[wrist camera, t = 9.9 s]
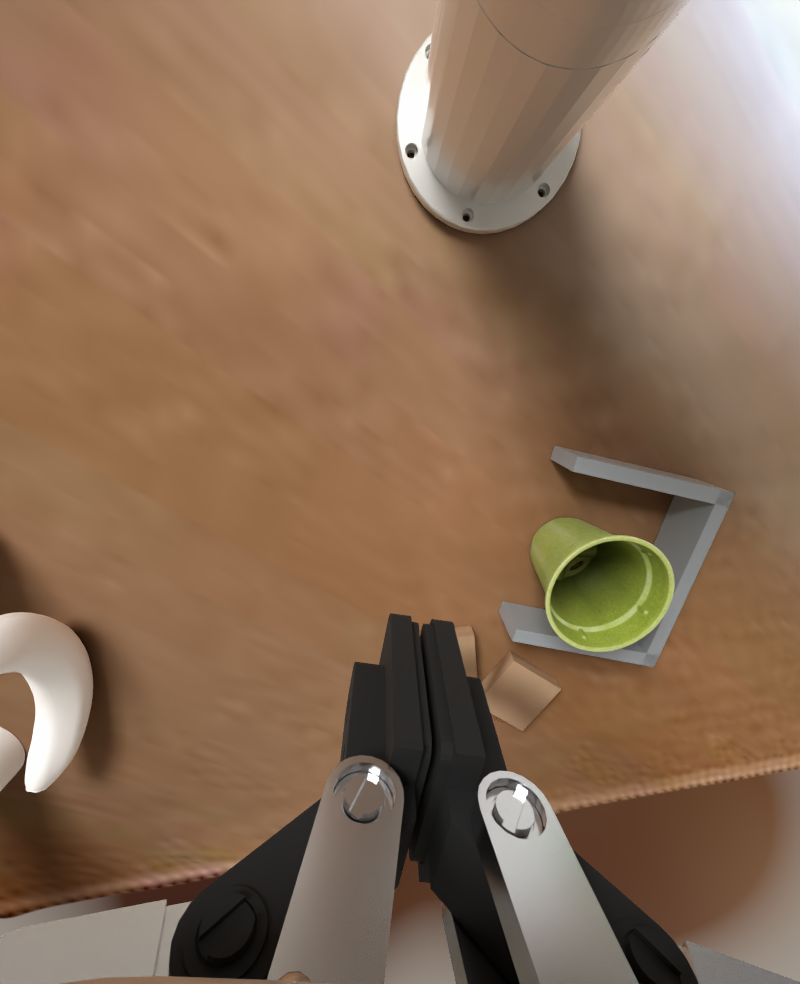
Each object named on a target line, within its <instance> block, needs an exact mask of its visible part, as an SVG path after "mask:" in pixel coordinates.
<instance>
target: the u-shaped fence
mask: <svg viewBox="0 0 800 984" xmlns="http://www.w3.org/2000/svg"><path fill="white" fill-rule="evenodd" d="M550 459H551V460H553V461H555V462H556V463H558V464H560V465H562V466H564V467H565V468H567V469H569V470H571V471H572V472H577V473H581V474H585V475H590V476H594V477H598V478H603V479H607V480H612V481H616V482H620V483H625V484H629V485H633V486H638V487H642V488H646V489H651V490H655V491H659V492H664V493H668V494H673V495H674V497H673V500H672V502H671V504H670V507H669V509H668V511H667V514H666V516H665V518H664V521H663V523H662V525H661V528H660V530H659V532H658V535H657V537H656V539H655V542H654V544H653V545H654V546H655V547H657V548H658V549H659V550H660V551H661V552H662V553H663V554H664V555H665V556H666V558H667V559H668V561H669V562H670V564H671V567H672V570H673V574H674V582H675V585H674V593H673V598H672V601H671V603H670V606H669V608H668V610H667V612H666V614H665V615H664V617H663V618H662V619H661V621H660V623H659V624H658V625H657V626H656V627H655V628H654V629H653V630H652V631H651V632H650V633H648V634H647V635H646V636H644V637H643V638H641V639H640V640H638V641H637V642H635V643H633V644H631V645H629V646H626V647H623V648H621V649H617V650H613V651H607V652H592V651H586V650H581V649H578V648H576V647H573V646H571V645H570V644H568V643H566V642H565V641H564V640H562V639H561V638H560V637H559V636H558V635H557V634H556V633H555V631H554V630H553V628H552V627H551V625H550V623H549V621H548V618H547V615H546V611H545V609H541V608H535V607H530V606H525V605H520V604H515V603H509V602H504V601H502V603H501V606H500V609H499V614H500V616H501V618H502V620H503V623H504V625H505V627H506V629H507V631H508V633H509V635H510V637H511V640H512V641H514V642H519V643H525V644H530V645H536V646H541V647H547V648H552V649H557V650H563V651H568V652H574V653H579V654H585V655H590V656H596V657H601V658H606V659H612V660H617V661H623V662H628V663H634V664H639V665H645V666H650V667H654V666H655V664H656V662H657V660H658V658H659V655H660V653H661V651H662V649H663V647H664V645H665V643H666V640H667V638H668V636H669V634H670V632H671V630H672V628H673V625H674V623H675V621H676V619H677V617H678V615H679V613H680V610H681V608H682V606H683V604H684V602H685V600H686V598H687V596H688V593H689V591H690V589H691V587H692V585H693V583H694V581H695V578H696V576H697V574H698V572H699V570H700V568H701V566H702V563H703V561H704V559H705V557H706V555H707V553H708V551H709V548H710V546H711V544H712V542H713V540H714V538H715V536H716V533H717V531H718V529H719V527H720V525H721V523H722V521H723V519H724V516H725V514H726V512H727V510H728V508H729V506H730V504H731V501H732V499H733V497H734V495H735V493H734V492H731V491H728V490H725V489H723V488H720V487H717V486H714V485H712V484H709V483H706V482H703V481H701V480H698V479H695V478H691V477H687V476H682V475H678V474H674V473H670V472H665V471H661V470H657V469H653V468H648V467H644V466H640V465H636V464H631V463H627V462H623V461H619V460H614V459H610V458H606V457H602V456H597V455H593V454H589V453H585V452H580V451H576V450H572V449H568V448H563V447H559V446H554V449H553V452H552V455H551V458H550Z"/></svg>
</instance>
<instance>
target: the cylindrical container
mask: <svg viewBox="0 0 800 984" xmlns="http://www.w3.org/2000/svg"><path fill="white" fill-rule="evenodd" d="M24 761H25V752H24V748H23V746H22V744H21V743H20V741H19V740H18V739H17V738H16V737H15V736H14V735H13V734H12V733H10V732H9V731H7V730H6V729H3V728H1V727H0V791H1V790H2V789H3V788H4V787H5V786H6V785H7V784H8V782H9V781H10V780H11V779H12V778H13V777H14V776H15V775H16V773H17V772H18V771H19V770H20V769H21V767H22V766H23V764H24Z"/></svg>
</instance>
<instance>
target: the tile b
mask: <svg viewBox="0 0 800 984" xmlns="http://www.w3.org/2000/svg"><path fill="white" fill-rule="evenodd" d="M481 683H482V685H483V689H484V692H485V696H486V699H487V703H488V706H489V710H490V713H491V714H493V715H495V716H496V717H498V718H500V719H502V720H503V721H505V722H507V723H509V724H510V725H512V726H514V727H516V728H518V729H519V730H521V731H523V730H524V729H525V728H526V727H527V726H528V725H529V724H530V723H531V722H532V720H533V719H534V718H535V717H536V716H537V715H538V714H539V713H540V712H541V711H542V710H543V709H544V708H545V707H546V705H547V704H548V703H549V702H550V701H551V700H552V699H553V698H554V697H555V696H556V695H557V694H558V693H559V692H560V690H561V688H560V686H559V684H558V682H557V681H556V679H555V678H554V677H552V676H551V675H549V674H547V673H546V672H544V671H542V670H541V669H539V668H537V667H536V666H534V665H533V664H531V663H529V662H528V661H526V660H524V659H523V658H521V657H519V656H518V655H516V654H514V653H513V652H511V651H510V650H509V651H508V652H507V654H506V655H505V656H504V657H503V658H502V659H501V660H500V662H499V663H498V664H497V665H496V666H495V667H494V668H493V670H492V671H491V672H490V673H489V674H488V675H487V676H486V678H485V679H484V680H483V681H482V682H481Z"/></svg>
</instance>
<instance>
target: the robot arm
mask: <svg viewBox="0 0 800 984" xmlns="http://www.w3.org/2000/svg"><path fill="white" fill-rule="evenodd" d="M688 1H689V0H437V4H436V11H435V17H434V24H433V31H432V33H431V34H430V35H429V36H428V37H427V38H426V39H425V41H424V42H423V43H422V45H421V46H420V48H419V49H418V50H417V52H416V53H415V55H414V56H413V58H412V61H411V63H410V65H409V67H408V69H407V71H406V73H405V76H404V79H403V83H402V86H401V90H400V93H399V98H398V106H397V116H396V140H397V148H398V155H399V159H400V162H401V166H402V169H403V172H404V175H405V177H406V179H407V181H408V183H409V185H410V187H411V189H412V191H413V193H414V194H415V196H416V197H417V198H418V200H419V201H420V202H421V204H422V205H423V206H424V207H425V208H426V209H427V210H428V211H429V212H430V213H431V214H432V215H433V216H434V217H436V218H437V219H438V220H440V221H442V222H443V223H445V224H447V225H448V226H450V227H452V228H455V229H458V230H461V231H464V232H468V233H476V234H489V233H499V232H502V231H505V230H508V229H511V228H514V227H516V226H518V225H520V224H522V223H523V222H525V221H527V220H529V219H530V218H531V217H533V216H534V215H535V214H536V213H537V212H538V211H540V210H541V209H542V208H543V207H544V206H545V205H546V204H547V203H548V202H549V201H550V200H551V199H552V198H553V197H554V195H555V194H556V192H557V191H558V190H559V188H560V187H561V185H562V184H563V182H564V181H565V179H566V177H567V175H568V173H569V171H570V169H571V167H572V164H573V162H574V159H575V156H576V152H577V149H578V146H579V142H580V135H581V129H582V127H583V126H584V125H585V124H586V123H587V121H588V120H589V119H590V118H591V117H592V116H593V114H594V113H595V112H596V111H597V110H598V108H599V107H600V106H601V105H602V104H603V103H604V101H605V100H606V99H607V98H608V97H609V96H610V94H611V93H612V92H613V91H614V90H615V88H616V87H617V86H618V85H619V84H620V83H621V81H622V80H623V79H624V78H625V77H626V75H627V74H628V73H629V72H630V71H631V70H632V68H633V67H634V66H635V65H636V64H637V62H638V61H639V60H640V59H641V58H642V57H643V55H644V54H645V53H646V52H647V51H648V49H649V48H650V47H651V46H652V45H653V43H654V42H655V41H656V40H657V39H658V38H659V36H660V35H661V34H662V33H663V32H664V30H665V29H666V28H667V27H668V26H669V24H670V23H671V22H672V21H673V20H674V19H675V17H676V16H677V15H678V14H679V12H680V11H681V10H682V8H683V7H684V6H685V5H686V4H687V2H688ZM409 153H412V154H413V155H414V158H409V157H408V156H407V155H408V154H409ZM538 191H540V192H542V197H540V196H539V194H538ZM463 216H468V218H469V221H468V222H465V221H464V220H463ZM408 848H409V857H410V860H411V861H417V862H418V869H419V882H428V883H430V885H431V889H432V891H433V892H434V893H435V894H436V895H437V896H438V898H439V899H440V900H441V901H442V907H441V908H442V919H443V925H444V930H445V934H446V939H447V944H448V948H449V953H450V958H451V963H452V967H453V971H454V976H455V981H456V984H800V982H798V981H795V980H793V979H790V978H787V977H784V976H782V975H779V974H776V973H773V972H771V971H768V970H765V969H763V968H759V967H757V966H754V965H752V964H749V963H746V962H743V961H740V960H738V959H735V958H732V957H730V956H727V955H724V954H721V953H719V952H716V951H713V950H710V949H707V948H705V947H702V946H699V945H697V944H694V943H691V942H688V941H685V942H684V944H683V945H682V946H679V945H677V944H676V943H675V942H674V940H673V939H672V938H671V937H670V936H669V935H668V934H667V933H666V932H665V931H664V930H663V929H662V928H661V927H660V926H659V925H658V924H657V923H656V922H654V921H653V920H652V919H651V918H650V917H649V916H648V915H646V914H645V913H644V912H643V911H642V910H641V909H640V908H639V907H637V906H636V905H635V904H634V903H633V902H632V901H631V900H629V899H628V898H627V897H626V896H625V895H624V894H622V893H621V892H620V891H619V890H618V889H617V888H616V887H615V886H613V885H612V884H611V883H610V882H609V881H608V880H606V879H605V878H604V877H603V876H602V875H601V874H600V873H599V872H598V871H596V870H595V869H594V868H593V867H592V866H591V865H590V864H588V863H587V862H586V861H585V860H584V859H583V858H582V857H580V856H579V855H578V854H577V853H576V852H575V851H574V850H572V848H571V846H570V844H569V842H568V840H567V838H566V836H565V834H564V832H563V830H562V828H561V826H560V824H559V822H558V819H557V817H556V815H555V813H554V811H553V809H552V807H551V805H550V804H549V802H548V801H547V799H546V797H545V796H544V794H543V793H542V792H541V791H540V790H539V789H538V788H537V787H536V786H535V785H534V784H533V783H532V782H530V781H529V780H527V779H526V778H524V777H523V776H520V775H518V774H515V773H513V772H508V771H507V769H506V766H505V762H504V759H503V755H502V752H501V748H500V745H499V741H498V738H497V734H496V731H495V727H494V724H493V720H492V717H491V713H490V710H489V706H488V703H487V699H486V696H485V692H484V689H483V685H482V683H481V680H480V679H479V678H476V677H468V676H466V672H465V668H464V664H463V660H462V656H461V652H460V648H459V644H458V640H457V636H456V631H455V627H454V624H453V622H448V621H441V620H434V619H432V620H431V622H430V625H429V624H423V626H422V630H421V634H419V625H418V623H415V622H412V621H411V616H406V615H399V614H391V613H390V615H389V619H388V624H387V629H386V634H385V638H384V643H383V648H382V653H381V658H380V663H379V665H375V664H368V663H360V662H355V663H354V667H353V672H352V677H351V683H350V689H349V695H348V701H347V708H346V715H345V724H344V733H343V742H342V751H341V760H340V763H339V764H338V765H337V766H336V767H335V768H334V769H333V770H332V771H331V773H330V775H329V777H328V779H327V781H326V785H325V788H324V791H323V795H322V798H321V799H320V800H318V801H317V802H316V803H315V804H313V805H312V806H311V807H309V808H308V809H307V810H306V811H304V812H303V813H302V814H300V815H299V816H298V817H297V818H295V819H294V820H293V821H291V822H290V823H289V824H288V825H286V826H285V827H284V828H282V829H281V830H280V831H279V832H277V833H276V834H275V835H273V836H272V837H271V838H270V839H268V840H267V841H266V842H264V843H263V844H262V845H261V846H259V847H258V848H257V849H255V850H254V851H253V852H252V853H250V854H249V855H248V856H246V857H245V858H244V859H243V860H241V861H240V862H239V863H237V864H236V865H235V866H234V867H232V868H231V869H230V870H228V871H227V872H226V873H225V874H223V875H222V876H221V877H219V878H218V879H217V880H216V881H214V882H213V883H212V884H210V885H209V886H208V887H207V888H205V889H204V890H203V891H202V892H201V893H200V894H199V895H198V896H197V897H196V898H195V899H194V900H193V901H192V902H187V903H182V904H176V905H172V906H167V904H166V903H167V900H161V901H156V902H151V903H145V904H140V905H134V906H129V907H124V908H119V909H114V910H108V911H103V912H98V913H93V914H87V915H83V916H78V917H72V918H66V919H61V920H56V921H51V922H45V923H41V924H35V925H30V926H26V927H24V928H20V929H18V930H15V931H12V932H9V933H7V934H5V935H3V936H2V937H0V984H384V977H385V968H386V958H387V950H388V941H389V932H390V923H391V914H392V905H393V896H394V890H395V889H396V888H397V886H398V884H399V880H400V877H401V873H402V870H403V866H404V863H405V859H406V855H407V852H408Z"/></svg>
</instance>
